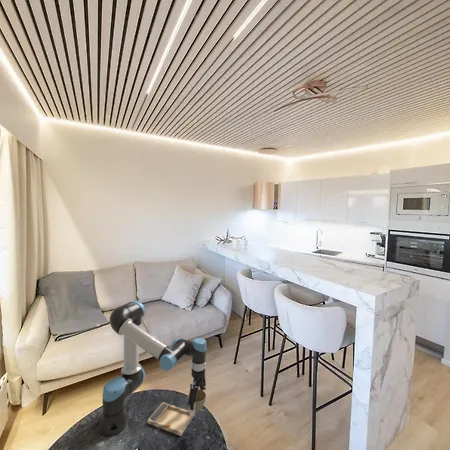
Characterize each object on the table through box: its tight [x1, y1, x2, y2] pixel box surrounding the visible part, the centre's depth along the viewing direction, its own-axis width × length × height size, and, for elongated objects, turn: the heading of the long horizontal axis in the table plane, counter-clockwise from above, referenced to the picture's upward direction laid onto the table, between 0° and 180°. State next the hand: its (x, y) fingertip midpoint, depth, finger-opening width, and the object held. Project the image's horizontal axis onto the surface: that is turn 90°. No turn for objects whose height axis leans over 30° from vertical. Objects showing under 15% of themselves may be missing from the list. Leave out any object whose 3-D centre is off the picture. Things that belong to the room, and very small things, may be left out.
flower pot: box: [187, 388, 207, 413], centre depth 135 cm, size 10×10×7 cm
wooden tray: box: [147, 401, 194, 437], centre depth 142 cm, size 22×14×3 cm
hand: (196, 407), depth 135 cm, fingers closed on flower pot, 10 cm apart
